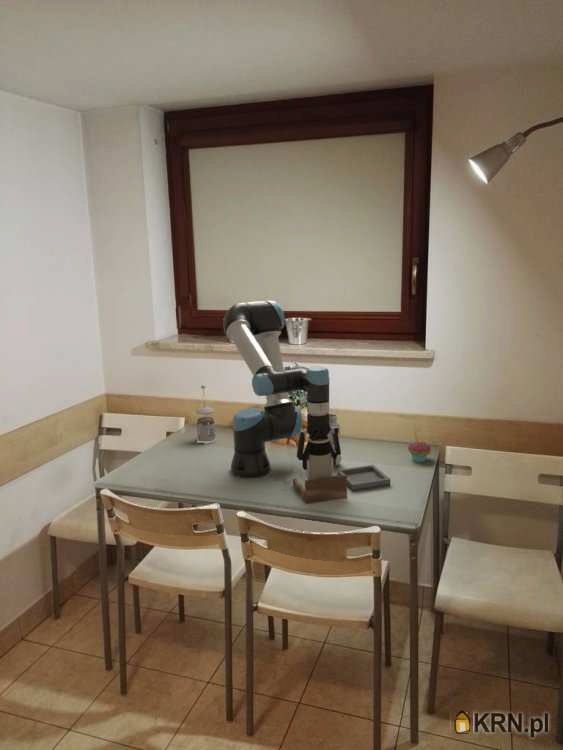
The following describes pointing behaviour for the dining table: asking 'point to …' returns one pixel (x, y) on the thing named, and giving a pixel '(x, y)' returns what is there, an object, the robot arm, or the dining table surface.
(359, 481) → the charcoal tray
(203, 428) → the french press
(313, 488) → the walnut dock
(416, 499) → the dining table surface
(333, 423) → the metal bottle
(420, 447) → the cupcake
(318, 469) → the travel mug
